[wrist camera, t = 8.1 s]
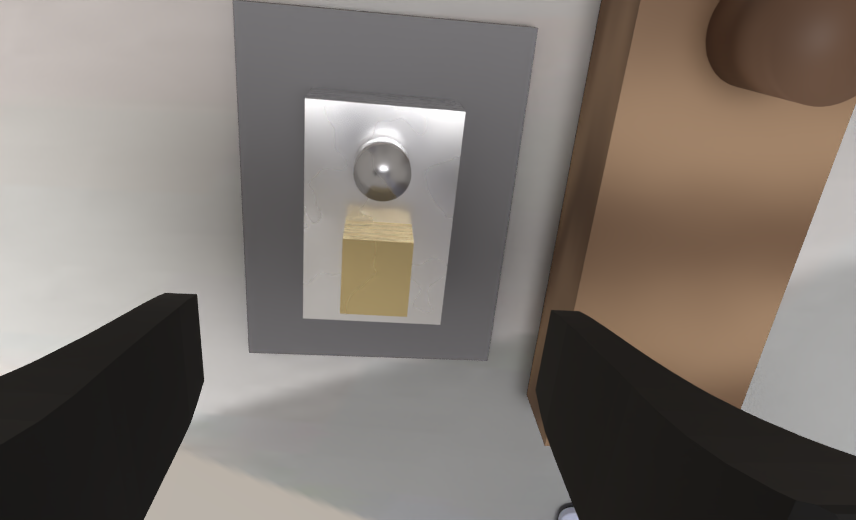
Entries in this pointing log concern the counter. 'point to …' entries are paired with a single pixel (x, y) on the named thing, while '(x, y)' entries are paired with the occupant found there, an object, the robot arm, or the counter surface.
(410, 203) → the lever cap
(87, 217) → the counter surface
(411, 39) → the mat
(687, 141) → the body
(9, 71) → the counter surface
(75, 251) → the counter surface
